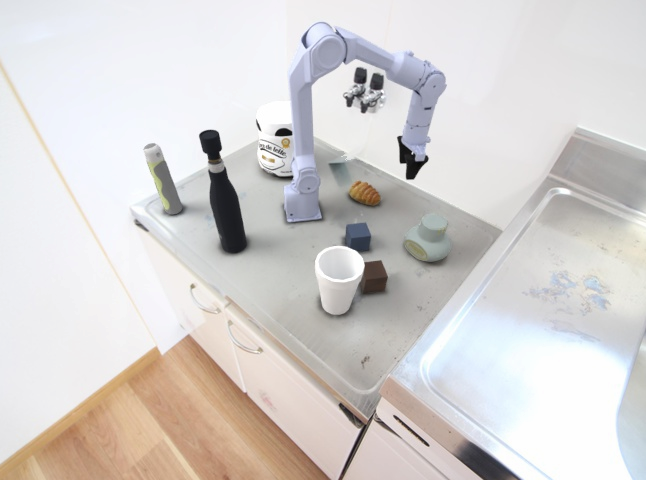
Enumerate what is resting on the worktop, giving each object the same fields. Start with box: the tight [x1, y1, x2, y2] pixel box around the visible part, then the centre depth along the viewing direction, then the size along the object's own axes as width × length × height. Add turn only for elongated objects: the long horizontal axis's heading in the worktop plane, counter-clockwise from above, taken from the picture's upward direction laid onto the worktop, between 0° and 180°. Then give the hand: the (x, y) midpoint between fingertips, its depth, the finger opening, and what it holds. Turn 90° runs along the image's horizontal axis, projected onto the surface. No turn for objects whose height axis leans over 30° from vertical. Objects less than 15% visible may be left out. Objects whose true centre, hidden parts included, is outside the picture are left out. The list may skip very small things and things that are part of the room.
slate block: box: [344, 221, 372, 253], centre depth 85 cm, size 5×5×5 cm
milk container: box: [255, 100, 294, 178], centre depth 105 cm, size 17×17×18 cm
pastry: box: [348, 180, 382, 207], centre depth 98 cm, size 9×7×4 cm
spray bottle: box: [142, 142, 183, 215], centre depth 90 cm, size 5×5×20 cm
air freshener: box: [403, 212, 452, 263], centre depth 81 cm, size 11×8×10 cm
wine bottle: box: [198, 129, 248, 254], centre depth 77 cm, size 6×6×30 cm
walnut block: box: [359, 259, 389, 295], centre depth 77 cm, size 5×5×5 cm
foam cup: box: [314, 245, 365, 316], centre depth 70 cm, size 10×9×13 cm
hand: (406, 170), depth 92 cm, fingers open, 7 cm apart
